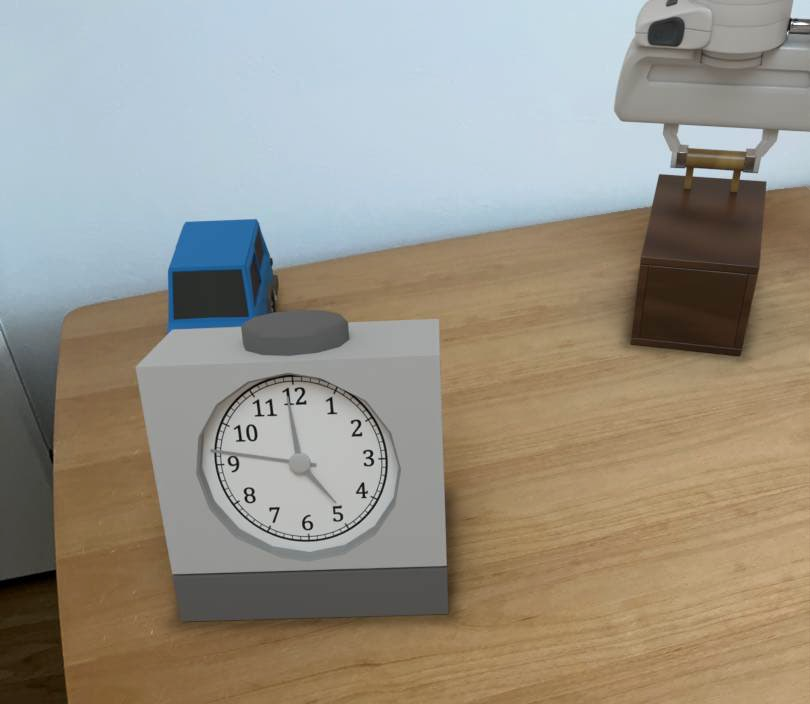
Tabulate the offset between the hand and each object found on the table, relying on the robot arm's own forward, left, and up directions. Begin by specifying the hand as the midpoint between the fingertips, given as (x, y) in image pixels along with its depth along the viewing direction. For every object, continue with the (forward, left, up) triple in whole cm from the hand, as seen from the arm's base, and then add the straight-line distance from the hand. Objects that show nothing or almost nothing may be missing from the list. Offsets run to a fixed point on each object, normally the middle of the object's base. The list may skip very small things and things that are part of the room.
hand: (713, 168), depth 99 cm
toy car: (+49, +9, -13) cm, 52 cm away
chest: (+1, +5, -13) cm, 14 cm away
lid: (+1, +5, -3) cm, 6 cm away
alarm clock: (+37, +38, -13) cm, 55 cm away
